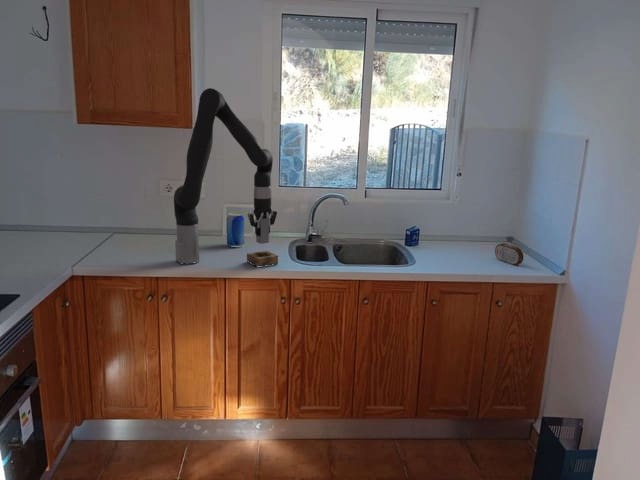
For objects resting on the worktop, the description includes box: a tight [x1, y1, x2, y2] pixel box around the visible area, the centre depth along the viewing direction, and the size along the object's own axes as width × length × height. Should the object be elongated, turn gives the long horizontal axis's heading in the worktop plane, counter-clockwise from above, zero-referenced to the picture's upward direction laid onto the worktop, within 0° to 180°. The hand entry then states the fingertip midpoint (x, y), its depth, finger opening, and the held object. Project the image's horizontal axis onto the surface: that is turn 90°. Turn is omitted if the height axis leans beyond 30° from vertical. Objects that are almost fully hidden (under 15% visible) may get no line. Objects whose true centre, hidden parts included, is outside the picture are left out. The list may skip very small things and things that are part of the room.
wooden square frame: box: [246, 250, 279, 266], centre depth 238 cm, size 10×10×4 cm
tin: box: [494, 242, 524, 266], centre depth 251 cm, size 15×3×8 cm, turn 30°
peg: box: [255, 217, 270, 245], centre depth 235 cm, size 4×4×11 cm
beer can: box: [226, 212, 245, 247], centre depth 263 cm, size 8×8×16 cm
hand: (262, 234), depth 235 cm, fingers closed on peg, 4 cm apart
